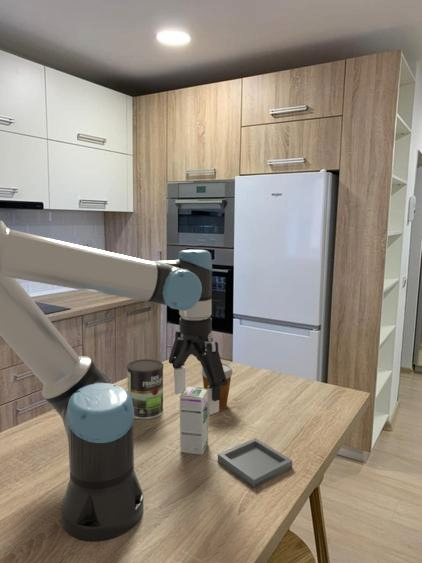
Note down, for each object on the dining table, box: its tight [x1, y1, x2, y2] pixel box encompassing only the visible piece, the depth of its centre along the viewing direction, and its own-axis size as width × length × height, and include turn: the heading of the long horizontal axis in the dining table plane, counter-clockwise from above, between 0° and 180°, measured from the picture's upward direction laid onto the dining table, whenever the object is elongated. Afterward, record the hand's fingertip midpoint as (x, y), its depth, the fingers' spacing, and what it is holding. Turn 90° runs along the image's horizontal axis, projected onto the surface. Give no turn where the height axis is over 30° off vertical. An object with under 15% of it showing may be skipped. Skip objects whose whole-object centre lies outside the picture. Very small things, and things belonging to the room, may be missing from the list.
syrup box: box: [179, 386, 209, 456], centre depth 102 cm, size 6×6×14 cm
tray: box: [217, 437, 293, 489], centre depth 96 cm, size 12×12×2 cm
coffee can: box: [126, 358, 164, 421], centre depth 120 cm, size 10×10×14 cm
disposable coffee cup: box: [200, 362, 234, 411], centre depth 125 cm, size 10×10×12 cm
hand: (195, 402), depth 101 cm, fingers open, 13 cm apart
